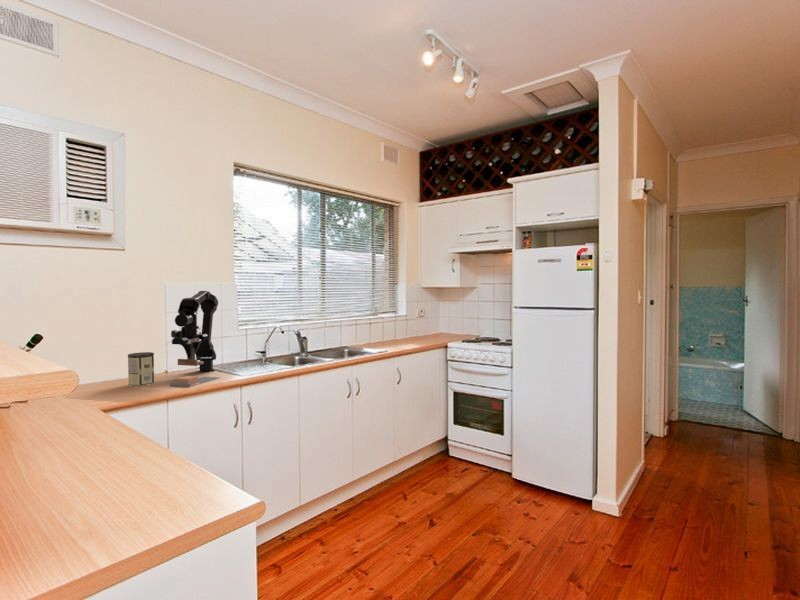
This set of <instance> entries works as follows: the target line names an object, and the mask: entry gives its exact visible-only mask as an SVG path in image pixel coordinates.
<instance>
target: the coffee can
mask: <svg viewBox="0 0 800 600" xmlns="http://www.w3.org/2000/svg"><path fill="white" fill-rule="evenodd" d="M154 355H155V352H151V351H145V352H144V351H143V352H133V353H128V354H127V362H128V363H127V365H128V366H127V369H128V370H127V372H128V373H127V374H128V376H127V377H128V387H129V386H130V388H134V387H143V386H149V385H153V384H155V358H154V357H155V356H154Z"/></svg>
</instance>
